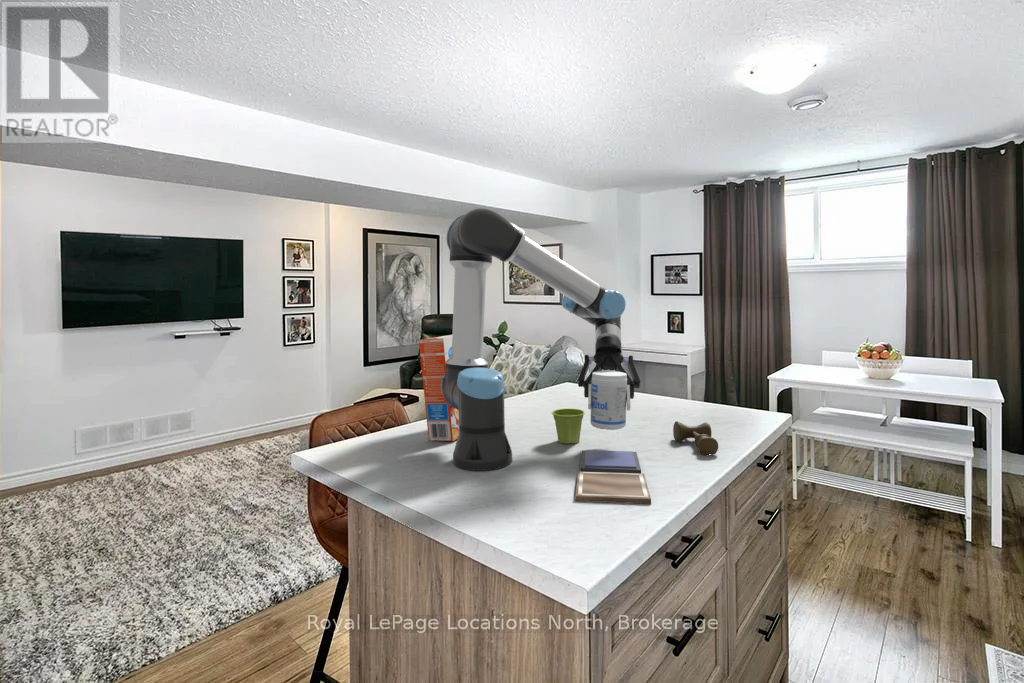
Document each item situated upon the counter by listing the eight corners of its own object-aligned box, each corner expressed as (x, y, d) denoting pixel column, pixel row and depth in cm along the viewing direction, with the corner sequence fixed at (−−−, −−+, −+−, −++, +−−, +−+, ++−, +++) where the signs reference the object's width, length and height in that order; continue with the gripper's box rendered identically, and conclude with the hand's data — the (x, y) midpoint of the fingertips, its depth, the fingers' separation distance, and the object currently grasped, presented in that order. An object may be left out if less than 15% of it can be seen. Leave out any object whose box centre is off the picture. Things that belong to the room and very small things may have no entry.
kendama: (689, 458, 134) (668, 435, 154) (727, 459, 134) (701, 435, 153) (691, 436, 133) (669, 415, 153) (728, 436, 133) (702, 416, 153)
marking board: (578, 475, 121) (578, 471, 121) (644, 477, 118) (644, 473, 118) (575, 500, 106) (575, 495, 106) (651, 503, 104) (651, 498, 104)
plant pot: (576, 448, 143) (576, 417, 142) (546, 443, 148) (546, 413, 147) (590, 439, 151) (590, 410, 150) (561, 435, 156) (561, 407, 155)
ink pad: (581, 454, 136) (581, 448, 136) (636, 456, 134) (636, 450, 134) (580, 472, 123) (580, 466, 123) (641, 474, 120) (641, 468, 120)
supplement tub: (584, 427, 141) (584, 373, 140) (601, 420, 149) (601, 369, 147) (616, 432, 135) (616, 376, 134) (632, 425, 142) (633, 372, 141)
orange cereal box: (453, 441, 150) (443, 338, 148) (428, 440, 153) (418, 340, 151) (484, 422, 172) (476, 332, 170) (463, 422, 174) (454, 334, 173)
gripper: (645, 351, 154) (650, 416, 139) (570, 350, 157) (567, 413, 143) (648, 335, 148) (653, 400, 134) (570, 334, 151) (566, 398, 137)
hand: (609, 407), depth 138 cm, fingers closed on supplement tub, 9 cm apart
